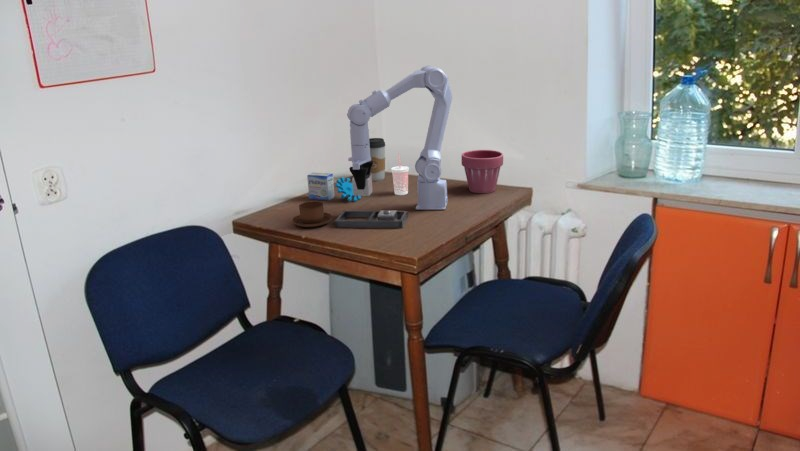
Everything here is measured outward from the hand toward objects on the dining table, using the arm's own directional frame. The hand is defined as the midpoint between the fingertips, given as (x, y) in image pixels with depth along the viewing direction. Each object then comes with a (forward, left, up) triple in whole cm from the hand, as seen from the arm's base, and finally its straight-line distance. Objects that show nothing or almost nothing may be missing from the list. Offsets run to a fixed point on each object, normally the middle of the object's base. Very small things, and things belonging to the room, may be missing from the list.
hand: (363, 186), depth 211 cm
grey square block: (0, 0, -2) cm, 2 cm away
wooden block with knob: (-9, +8, -9) cm, 15 cm away
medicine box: (+19, -18, -9) cm, 28 cm away
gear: (+9, -17, -9) cm, 21 cm away
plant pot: (-36, -28, -9) cm, 46 cm away
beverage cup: (-8, -24, -9) cm, 27 cm away
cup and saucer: (+14, +10, -9) cm, 20 cm away
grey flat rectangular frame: (-4, +8, -9) cm, 13 cm away
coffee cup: (+5, -44, -9) cm, 46 cm away
